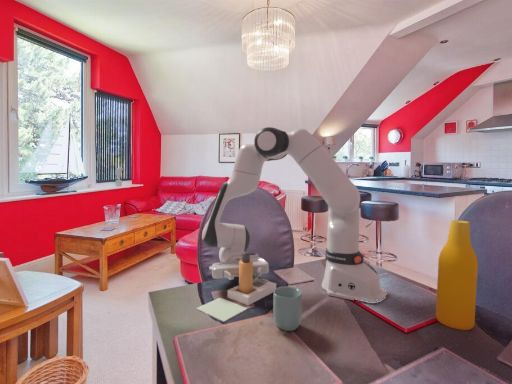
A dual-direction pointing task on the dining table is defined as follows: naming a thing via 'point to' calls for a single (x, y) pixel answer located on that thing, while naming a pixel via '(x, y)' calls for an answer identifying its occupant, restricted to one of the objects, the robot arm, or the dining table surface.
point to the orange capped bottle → (245, 274)
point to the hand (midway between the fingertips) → (245, 276)
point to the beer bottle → (457, 279)
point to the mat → (221, 309)
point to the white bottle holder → (259, 291)
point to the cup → (287, 307)
